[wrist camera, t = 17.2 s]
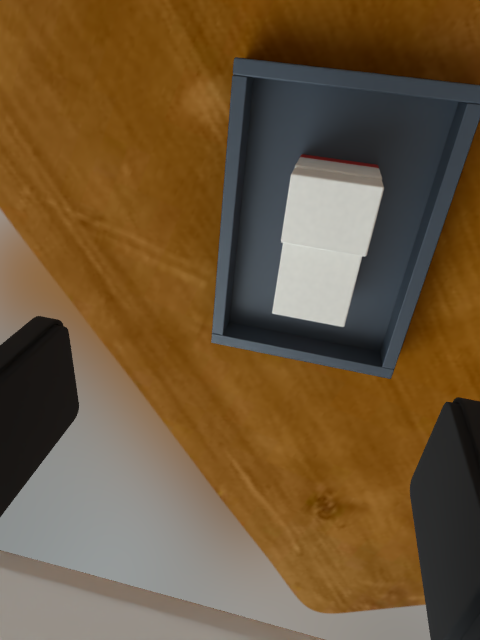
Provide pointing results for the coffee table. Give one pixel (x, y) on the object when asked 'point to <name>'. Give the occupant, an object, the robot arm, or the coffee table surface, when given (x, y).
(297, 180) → the red-bottomed white block
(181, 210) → the coffee table surface
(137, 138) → the coffee table surface
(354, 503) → the coffee table surface
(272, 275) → the tray
